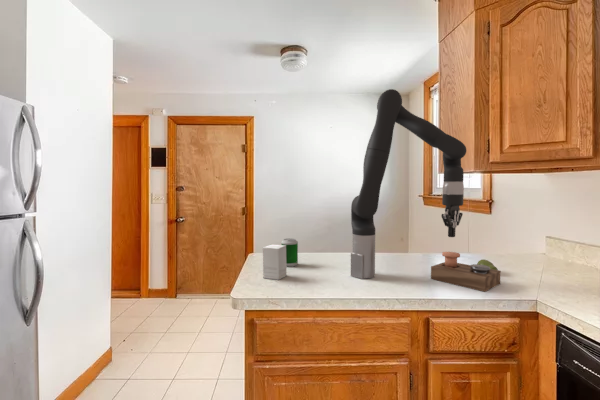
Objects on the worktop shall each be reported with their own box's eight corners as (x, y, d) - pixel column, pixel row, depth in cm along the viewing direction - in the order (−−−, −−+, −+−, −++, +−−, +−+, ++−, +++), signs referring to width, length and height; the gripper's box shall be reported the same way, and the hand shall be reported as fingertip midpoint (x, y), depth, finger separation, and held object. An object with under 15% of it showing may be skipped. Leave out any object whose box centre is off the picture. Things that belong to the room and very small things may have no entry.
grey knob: (485, 284, 117) (485, 269, 117) (467, 280, 122) (467, 266, 121) (492, 281, 121) (492, 266, 121) (474, 277, 126) (474, 263, 126)
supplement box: (287, 275, 134) (287, 245, 133) (278, 280, 127) (278, 248, 127) (271, 273, 137) (271, 243, 137) (262, 278, 131) (262, 247, 130)
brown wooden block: (484, 291, 113) (485, 277, 113) (430, 278, 129) (431, 266, 129) (500, 283, 122) (500, 270, 122) (447, 272, 138) (448, 261, 138)
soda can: (297, 267, 147) (297, 241, 147) (281, 267, 147) (280, 241, 147) (297, 263, 155) (297, 238, 154) (282, 263, 155) (282, 238, 154)
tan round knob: (455, 270, 125) (455, 255, 125) (439, 266, 130) (439, 253, 130) (462, 267, 129) (462, 253, 129) (446, 264, 134) (447, 251, 134)
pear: (487, 257, 142) (503, 267, 132) (485, 268, 143) (501, 279, 133) (475, 257, 141) (490, 267, 131) (473, 269, 142) (488, 279, 132)
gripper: (451, 192, 135) (450, 234, 136) (435, 193, 127) (433, 237, 127) (470, 193, 129) (468, 236, 130) (454, 193, 121) (452, 240, 122)
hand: (451, 236), depth 129 cm, fingers closed
